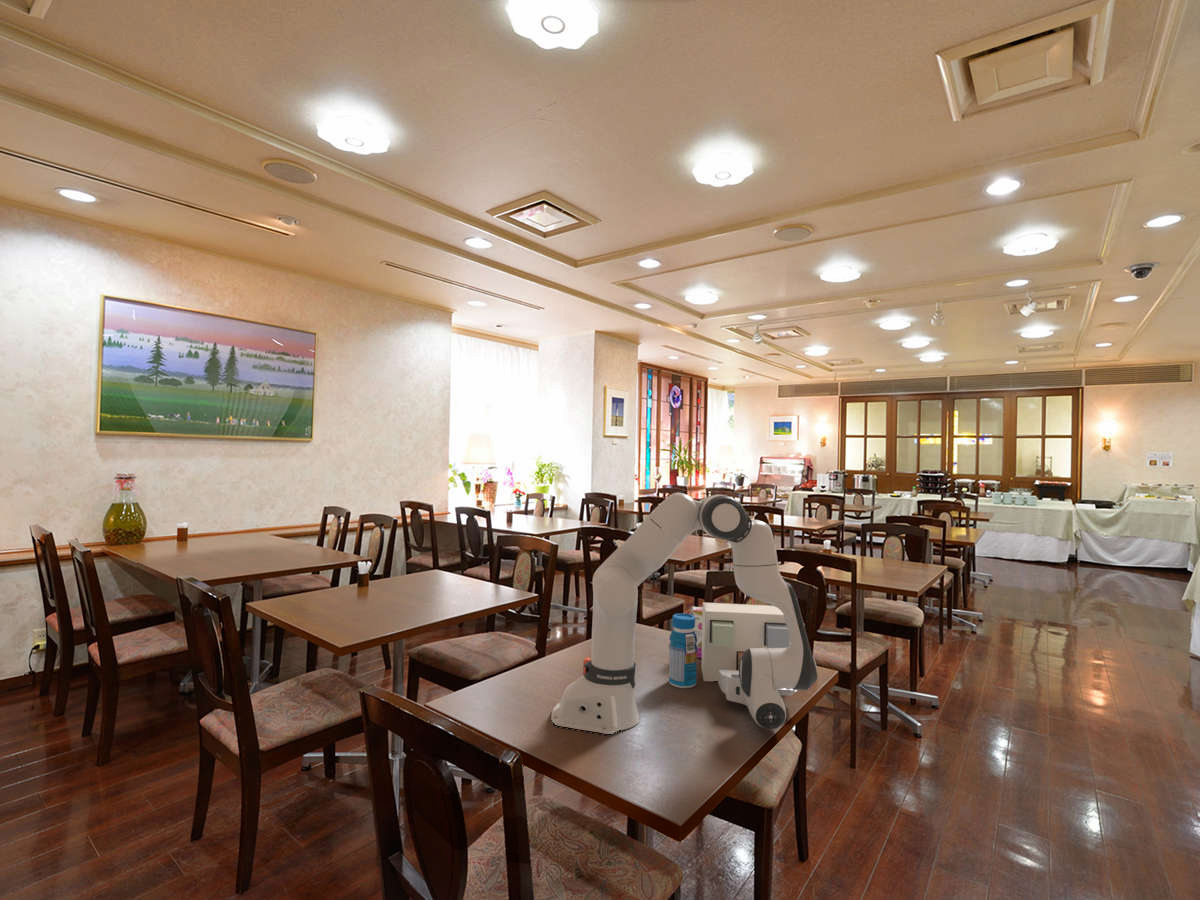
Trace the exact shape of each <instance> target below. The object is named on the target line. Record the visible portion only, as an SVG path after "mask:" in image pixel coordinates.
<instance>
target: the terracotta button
mask: <svg viewBox="0 0 1200 900" xmlns="http://www.w3.org/2000/svg"><path fill="white" fill-rule="evenodd" d="M743 654H744V651H737V671H739V661H740V658H741V657H742V655H743Z"/></svg>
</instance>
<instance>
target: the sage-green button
mask: <svg viewBox="0 0 1200 900" xmlns="http://www.w3.org/2000/svg"><path fill="white" fill-rule="evenodd" d="M733 634H734V626H733V624H732V621H727V620H711V642H712V646H728V647H733Z"/></svg>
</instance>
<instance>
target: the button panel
mask: <svg viewBox="0 0 1200 900" xmlns="http://www.w3.org/2000/svg"><path fill="white" fill-rule="evenodd" d="M702 607H703V612H702V659H701V665H700V666H701V673H702V678H703V682H713V681H718V671H719V670H737V651H744V652H745V651H746V650H747V649H751V648H768V647H767V646H766V644H765V622H768V623H786V621H785V617H784V614H783V613H782V611H781V610H780V609H778V608H777V607H775V606H773V605H770V604H767V605H766V604H747V603H745V604H744V603H742V604H741V603H726V602H725V603H724V602H720V603H719V602H702ZM711 620H727V621H732V624H733V626H734V634H733V647H728V646H712V642H711ZM790 646H791V640H789V647H790Z"/></svg>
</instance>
